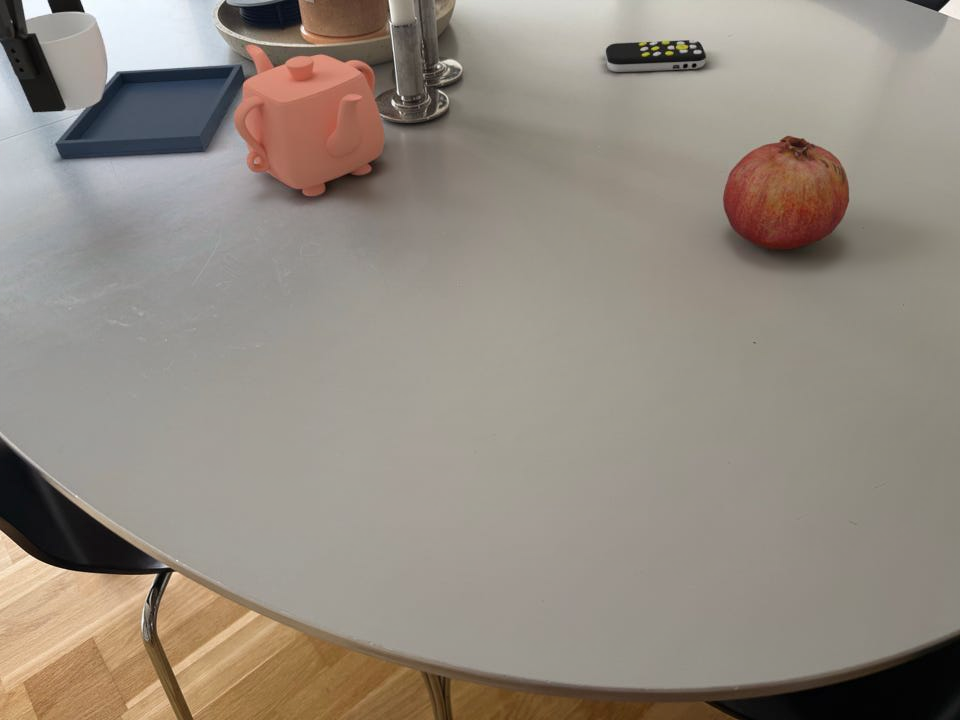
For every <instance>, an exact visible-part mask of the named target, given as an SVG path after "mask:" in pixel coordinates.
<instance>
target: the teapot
mask: <svg viewBox="0 0 960 720" xmlns="http://www.w3.org/2000/svg"><path fill="white" fill-rule="evenodd" d="M245 49H246V51H247V53H248V55H249V56H250V58H252V61H253V63H254V66H255V69H256V72H257V74H256V75H252V76H251V77H249V78H248V79H245V80H244V81H243V83H242V100H241V102H240V103H239V104H238V106H237V108H236V109H235V111H234V113H233V114H234V115H233V124H234V127H235V129H236V131H237V133H238V134H239V136H240V137H241V138H242V139H243V141H244V142H245V143H246V147H247V150H248V151H249V153H248V154H247V155H246V159H245V160H246V161H245V162H246V166H247V167H248V169H249V170H250V171H251V172H253V173H257V174H258V173H260V174H261V173H264V172H266V173H267V174H268V175H270V176H271V177H273V178H275V179H276V180H278V181H279V182H281V183H283V184H285V185H287V186H288V187H291V188H292V189H295V190H301V191H302V194H303V195H304V196H307V197H316V196H320V195H322V194H323V193H325V191H326V188H327V187H326V184H325V183H327V182H329V181H332V180H334V179H337V178H340V177H342V176H345V175H348V174H350V175H353V176H364V175H366V174H368V173H370V172H371V171H372V166H371V165H370V164H369V163H371V162H372V161H374V160H376V159H377V158H378V157H380V156H381V155H382V152H383V149H384V145H385V130H384V125H383V121H382V117H381V113H380V110H379V107H378V104H377V101H376V98H375V96H374V93H375V87H376V76H375V73H374V70H373V68H372V67H371V66H370V65H369V64H367V63H366V62H363V61H361V60H357V59H352V60H348V61H346V62H343V61H341V60H339V59H337V58H335V57H331V56H329V55H326V54H315V55H311V56H310V55H309V56H307V55H299V56H293V57H291V58H289V59H288V60H286V61H285V63H284V64H281V65H278V66H274V65H273V63H272V62H271V60H270V58H269V57H268V56H267V54H266V52H265V51H264V50H263V49H262V48H261V47H259V46H257V45H254V44H247V45H245ZM360 70H361V71H360Z"/></svg>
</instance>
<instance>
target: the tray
mask: <svg viewBox="0 0 960 720" xmlns="http://www.w3.org/2000/svg"><path fill="white" fill-rule="evenodd" d="M245 80H246V77H245V72H244V69H243V65H242V64H241V63H240V64H238V63H237V64H224V65H223V64H222V65H206V66H205V65H204V66H189V67H187V66H186V67H169V68H154V69H137V70H120V71H119V70H117V71H116V72H115V73H114V75H112V77H111V78H110V79H109V80H108V82H106V85H105V89H104V93H103V96H102V99H101V100H100V101H99V102H97V103H96V104H94V105H92V106H89V107H87V108H84V110H83V111H82V112H81V113H80V114H79V115H78V116H77V117H76V119H75V120H74V121H73V122H72V123H71V125H69V127H68V128H67V129H66V130H65V131H64V132H63V134H62V135H61V136H60V137H59V138H58V140H56V142H55V143H54V144H55V147H56V149H57V152H58V154H59V156H60V159H61V160H63V159H83V158H100V157H101V158H103V157H121V156H137V155H139V156H141V155H159V154H177V153H178V154H179V153H192V152H193V153H196V152H198V153H199V152H205V151H206V149H207V147H208V146H209V143H210V142H211V140H212V138H213V136H214V135H215V133H216V131H217V129H218V127H219V126H220V124H221V122H222V120H223V118H224V117H225V115H226V114H227V111H228V109H229V108H230V106H231V104H232V102H233V100H234V99H235V97H236V95H237V94H238V92H239V90H240V88H241V86H242V85H243V83H244V82H245Z"/></svg>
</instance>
